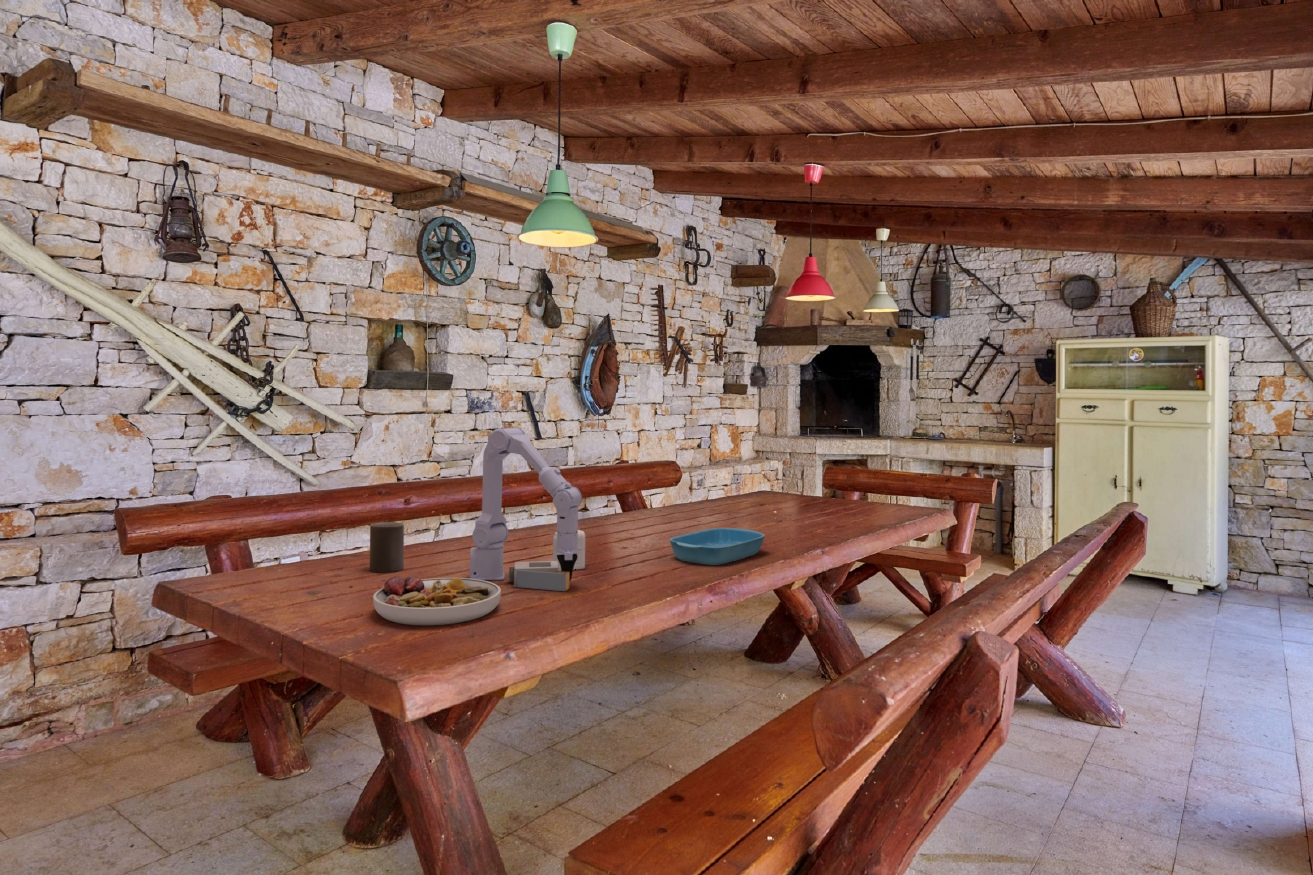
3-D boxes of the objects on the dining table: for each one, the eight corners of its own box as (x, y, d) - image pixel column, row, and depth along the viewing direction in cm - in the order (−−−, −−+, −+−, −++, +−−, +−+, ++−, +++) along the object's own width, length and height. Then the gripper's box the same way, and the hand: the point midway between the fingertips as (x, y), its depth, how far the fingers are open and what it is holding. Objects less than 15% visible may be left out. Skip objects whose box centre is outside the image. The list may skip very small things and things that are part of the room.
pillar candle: (382, 574, 230) (382, 523, 230) (362, 569, 236) (363, 519, 235) (410, 569, 238) (411, 519, 237) (391, 564, 244) (391, 516, 243)
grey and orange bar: (513, 587, 216) (513, 570, 216) (519, 584, 220) (519, 567, 220) (563, 591, 212) (564, 574, 212) (569, 588, 216) (569, 571, 215)
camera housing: (508, 586, 217) (509, 568, 217) (509, 579, 226) (509, 561, 226) (558, 585, 220) (558, 567, 219) (557, 578, 228) (557, 560, 228)
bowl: (519, 600, 204) (520, 570, 204) (466, 634, 175) (466, 599, 175) (414, 592, 211) (414, 563, 211) (346, 624, 182) (346, 590, 181)
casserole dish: (713, 571, 241) (714, 548, 241) (657, 560, 255) (657, 538, 255) (775, 553, 270) (775, 532, 270) (721, 545, 284) (721, 525, 284)
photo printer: (580, 566, 245) (580, 526, 244) (587, 569, 241) (587, 528, 240) (550, 570, 239) (550, 529, 238) (556, 572, 235) (556, 531, 235)
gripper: (583, 536, 210) (583, 586, 211) (580, 527, 225) (579, 574, 225) (557, 536, 209) (556, 587, 210) (555, 527, 223) (554, 574, 224)
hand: (566, 580), depth 218 cm, fingers closed
